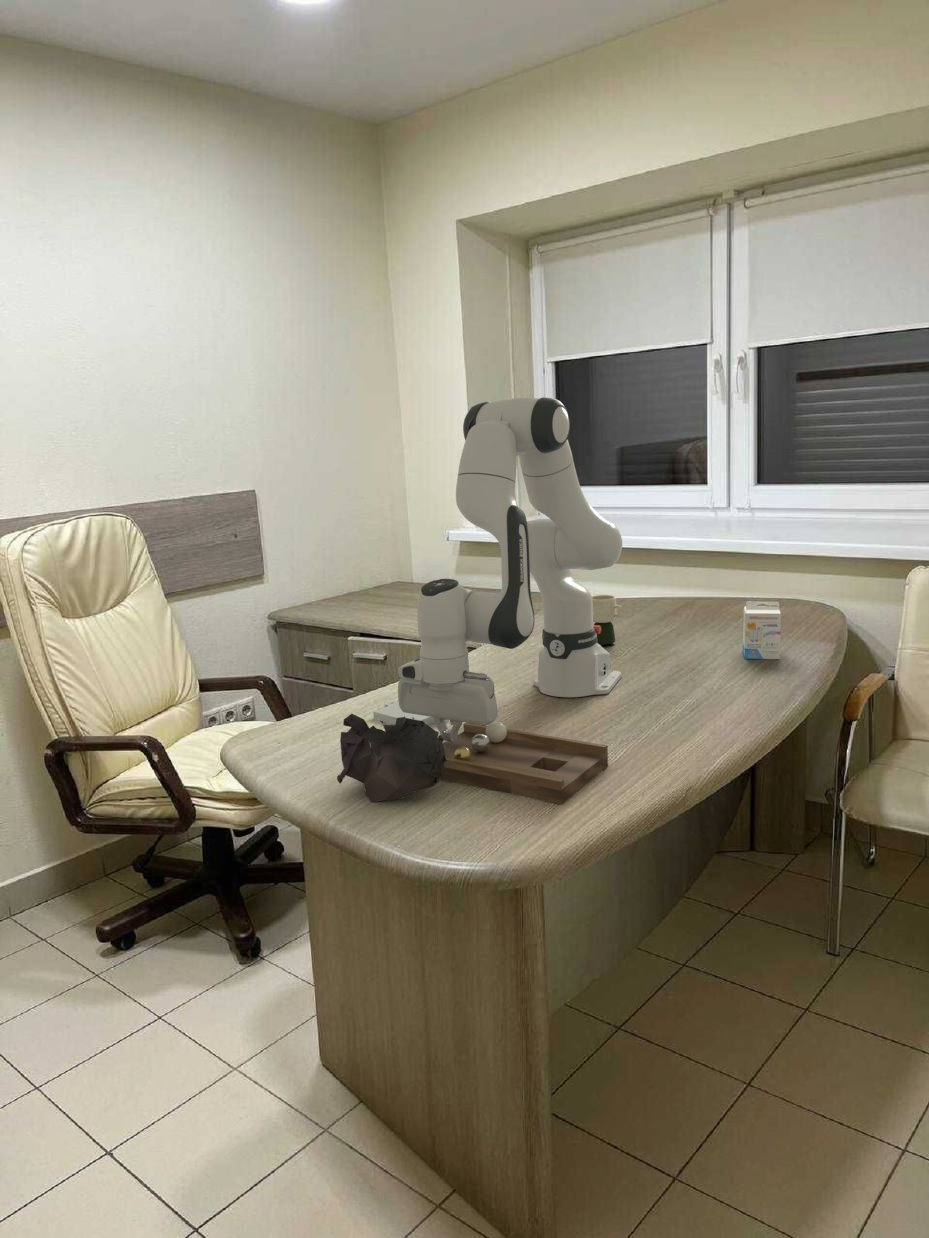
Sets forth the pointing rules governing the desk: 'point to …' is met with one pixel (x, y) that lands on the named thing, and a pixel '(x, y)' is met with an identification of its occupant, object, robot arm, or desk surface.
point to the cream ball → (496, 732)
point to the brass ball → (462, 754)
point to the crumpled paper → (391, 757)
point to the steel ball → (480, 743)
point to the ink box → (761, 630)
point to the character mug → (605, 617)
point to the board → (526, 764)
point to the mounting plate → (399, 714)
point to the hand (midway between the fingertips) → (449, 740)
